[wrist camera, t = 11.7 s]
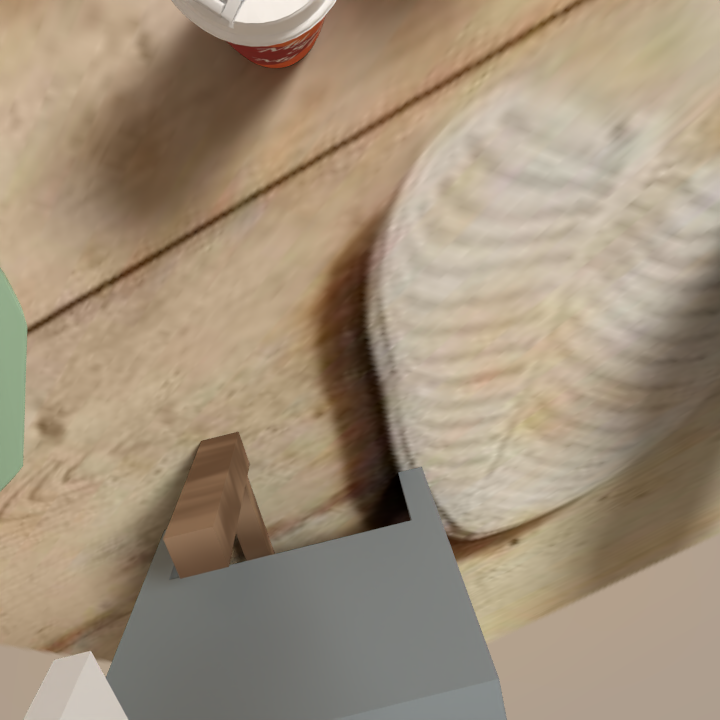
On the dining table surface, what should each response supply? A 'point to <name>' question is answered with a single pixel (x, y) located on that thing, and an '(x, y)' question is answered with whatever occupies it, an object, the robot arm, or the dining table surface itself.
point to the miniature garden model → (11, 382)
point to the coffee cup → (261, 26)
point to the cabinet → (313, 633)
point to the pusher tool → (216, 511)
